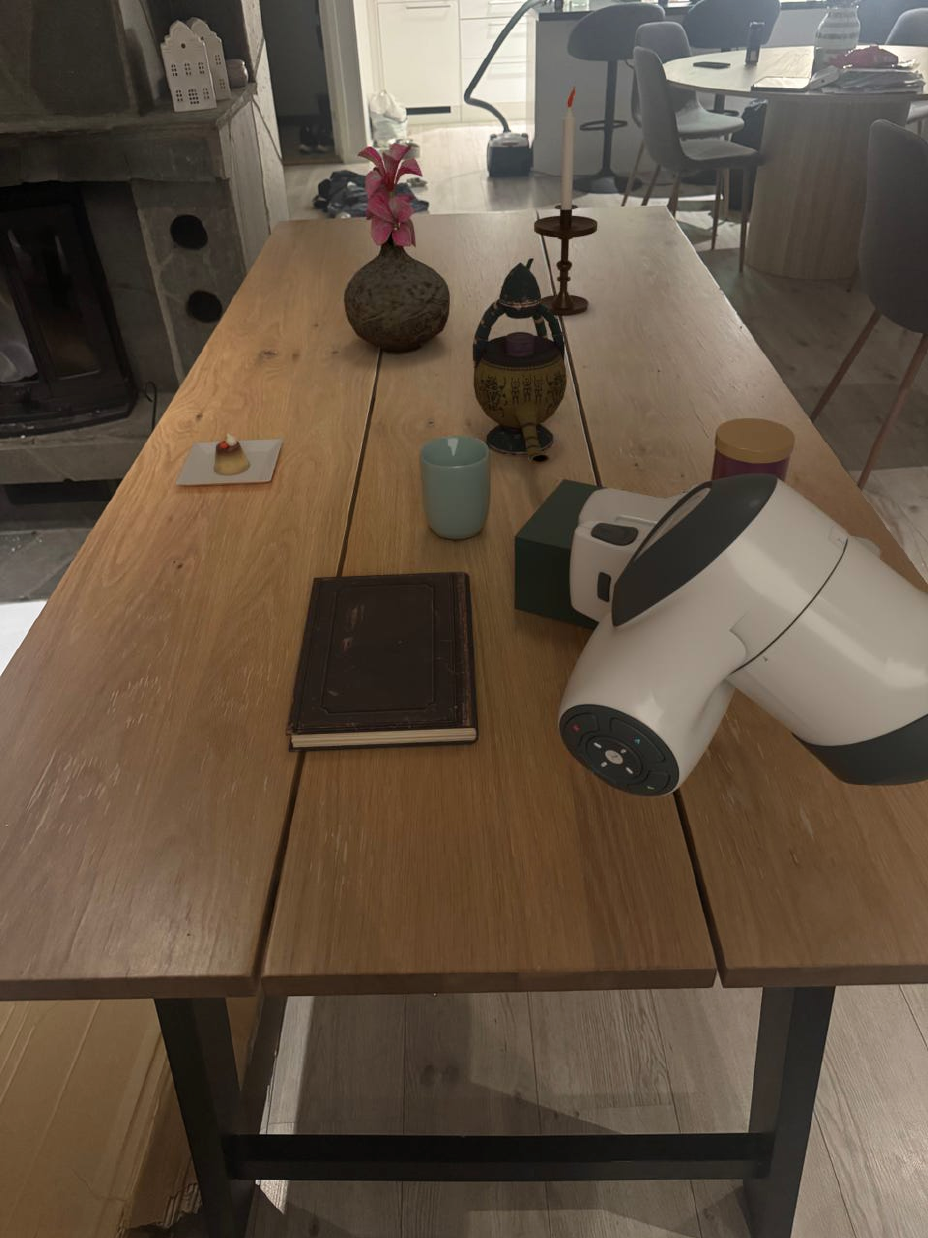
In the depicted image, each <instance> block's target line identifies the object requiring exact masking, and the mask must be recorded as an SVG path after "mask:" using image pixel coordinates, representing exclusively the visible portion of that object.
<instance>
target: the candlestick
mask: <svg viewBox="0 0 928 1238" xmlns="http://www.w3.org/2000/svg"><path fill="white" fill-rule="evenodd" d="M575 88H576V87H575V85H574V86H573V89H572V90H571V92H570V94H569V97H568V100H567V107H568V108H567V111H566V115H565V117H563V121H562V123H563V124H562V149H561V150H562V152H561V153H562V154H561V156H562V157H561V186H560V187H561V188H560V189H561V190H560V204H558V205H554V209H556V210H559V215H552V216H546V217H542V218H539V219H537V220H535V221H534V223H533V232H534V233H535V234H537V235H539V236H542V237H546V238H547V237H548V238H555V239H556V238H557V239H558V240H560V260H558V261H556V264H555V266H556V269H557V270H558V271H559V276H557V277H556V281H557V282H559V291H558V293H557V294H552V295H548V296H544V297H541V302H540V303H541V304H542V305H543V306H545V307H546V308H549V309H550V311H551V312H552V314H553V315H554V316H557V317H566V316H567V317H569V316H576V315H580V314H583V313H585V312H587V310H588V309H589V301H588V300H587V299H586V298H584V297H582V296H578V295H574V294H569V292H568V282H570V281H571V280H572V278H571V276H569V271H570V270H571V269H572V267H573V262H572V261H571V260H569V253H570V252H569V251H570V250H569V249H570V240H572V239H574V238H581V237H587V236H591V235H594V234H596V232H597V231H598V221H597V220H596V219H594V218H591V217H587V216H581V215H573V210H576V209H579V206H578V205H576V204H573V184H574V161H575V160H574V158H575V133H576V128H575V127H576V118H575V117H573V112H572V105H573V101H574V96H575V94H576V89H575Z"/></svg>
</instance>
